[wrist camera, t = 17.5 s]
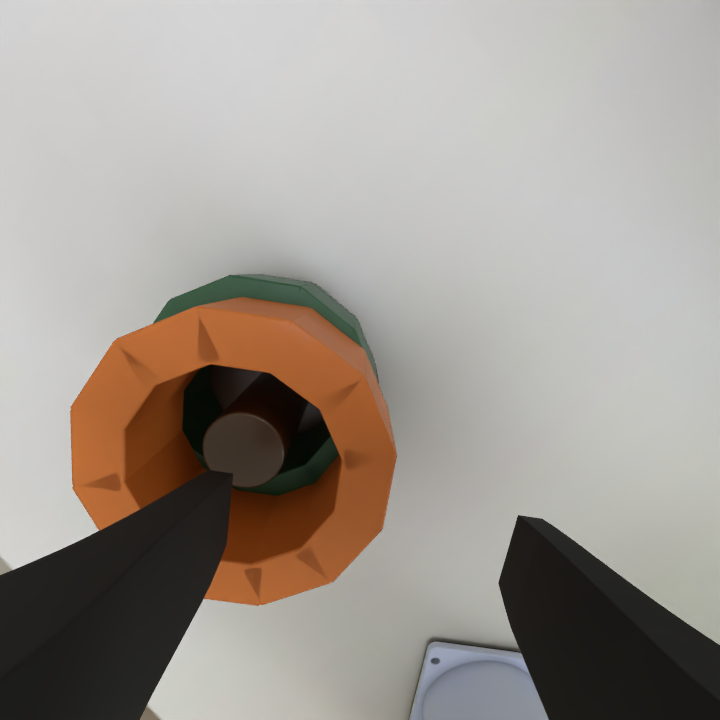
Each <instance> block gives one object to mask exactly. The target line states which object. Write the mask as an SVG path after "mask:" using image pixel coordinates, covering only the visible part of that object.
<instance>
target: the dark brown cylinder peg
mask: <svg viewBox="0 0 720 720" xmlns="http://www.w3.org/2000/svg"><path fill="white" fill-rule="evenodd" d="M367 345H368V344H367ZM368 348H369V346H368ZM369 350H370V348H369ZM370 353H371V356H372V358H373V355H372V352H371V350H370ZM373 361H374V358H373ZM374 363H375V361H374ZM375 366H376V364H375ZM376 374H377V369H376ZM377 381H378V375H377ZM209 384H210V386H211V388H212V390H213V392H214V394H215V396H216V398H217V400H218V402H219V404H220V406H221V408H222V410H223V412H222V413H221V414H220V415H219V416H218V418H217V419H216V420H215V421H214V422H213V423H212V424H211V425H210V426H209V427H208V429H207V431H206V433H205V435H204V438H203V456H204V459H205V462H206V464H207V466H208V467H209V469H210V470H213V471H220V472H227V473H233V482H232V486H236V487H242V488H251V487H256V486H260V485H262V484H265V483H267V482H268V481H270V480H271V479H273V478H274V477H275V476H276V475H277V474H278V472H279V471H280V469H281V468H282V466H283V463H284V461H285V458H286V456H287V453H288V451H289V449H290V446H291V444H292V441H293V439H294V436H295V435H297V434H300V433H303V432H306V431H309V430H312V429H314V428H316V427H317V426H318V425H319V424H320V423H321V421H322V420H323V416H322V414H321V412H320V410H319V409H318V408H317V407H315V406H314V405H313V404H311V403H310V402H309V401H307V400H306V399H305V398H303V397H302V396H301V395H299V394H298V393H297V392H295V391H294V390H293V389H291V388H290V387H288V386H287V385H286V384H284V383H283V382H282V381H280V380H279V379H278V378H276V377H275V376H274V375H272V374H271V373H267V372H260V371H253V370H246V369H239V368H233V367H226V366H219V365H212V364H211V366H210V380H209ZM378 384H379V383H378Z"/></svg>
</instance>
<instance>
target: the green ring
mask: <svg viewBox="0 0 720 720" xmlns="http://www.w3.org/2000/svg"><path fill="white" fill-rule="evenodd" d="M238 297H247V298H254V299H260V300H267V301H273V302H280V303H286V304H293V305H299V306H306V307H309V308H312V309H314V310H315V311H316V312H318V313H319V314H320V315H321V316H323V317H324V318H325V319H326V320H328V321H329V322H330V323H331V324H333V325H334V326H335V327H337V328H338V329H339V330H340V331H342V332H343V333H344V334H345V335H347V336H348V337H349V338H351V339H352V340H353V341H354V342H356V343H357V344H358V345H359V346H361V347H362V348H363V349H364V350H365V351H366V354H367V356H368V359H369V361H370V364H371V367H372V369H373V372H374V374H375V377H376V379H377V374H376V366H375V363H374V361H373V358H372V356H371V353H370V350H369V348H368V345H367V342H366V340H365V337H364V335H363V332H362V329H361V327H360V324H359V322H358V319H357V318H356V317H355V316H354V315H353V314H352V313H350V312H349V311H348V310H347V309H345V308H344V307H343V306H342V305H341V304H339V303H338V302H337V301H336V300H334V299H333V298H332V297H331V296H330V295H328V294H327V293H326V292H325V291H323V290H322V289H321V288H320V287H318V286H317V285H316V284H313V283H311V282H305V281H299V280H293V279H287V278H281V277H275V276H269V275H263V274H249V275H229V276H227V277H224V278H222V279H219V280H217V281H214V282H212V283H209V284H207V285H204V286H202V287H199V288H197V289H194V290H192V291H189V292H187V293H184V294H182V295H180V296H177V297H175V298H172V299H170V300H169V301H168V302H167V304H166V305H165V307H164V308H163V310H162V311H161V313H160V314H159V315H158V317H157V318H156V320H155V321H154V323H156V322H159V321H161V320H164V319H166V318H168V317H171V316H173V315H176V314H178V313H181V312H183V311H186V310H188V309H190V308H193V307H195V306H199V305H204V304H209V303H214V302H219V301H224V300H228V299H233V298H238ZM154 323H153V324H154ZM210 366H211V364H210V365H207V366H205V367H202V368H200V369H199V371H198V372H197V373H196V375H195V376H194V377H193V379H192V380H191V382H190V383H189V384H188V386H187V387H186V389H185V390H184V400H183V422H182V430H183V432H184V434H185V435H186V437H187V439H188V441H189V443H190V445H191V447H192V449H193V450H194V452H195V454H196V456H197V458H198V460H199V462H200V463H201V465H202V467H204V468H205V469H206V470H210V469H209V467H208V466H207V464H206V462H205V459H204V456H203V438H204V435H205V433H206V431H207V429H208V427H209V426H210V425H211V424H212V423H213V422H214V421H215V420H216V419H217V418H218V416H219V415H220V414H221V413H222V412H223V410H222V408H221V406H220V404H219V402H218V400H217V398H216V396H215V394H214V392H213V390H212V388H211V386H210V384H209V380H210ZM377 382H378V381H377ZM338 456H339V453H338V450H337V448H336V446H335V444H334V441H333V439H332V437H331V435H330V432H329V430H328V428H327V425H326V423H325V421H324V419H323V420H322V421H321V423H320V424H319V425H318V426H317V427H316V428H314V429H312V430H309V431H306V432H303V433H300V434H297V435H295V436H294V439H293V441H292V444H291V446H290V449H289V451H288V453H287V456H286V458H285V461H284V463H283V466H282V468H281V469H280V471H279V472H278V474H277V475H276V476H275V477H274V478H273V479H271V480H270V481H268V482H267V483H265V484H262V485H260V486H256V487H251V488H242V487H236V486H232V487H233V488H235V489H236V490H239V491H247V492H254V493H261V494H268V495H276V496H279V495H282V494H285V493H288V492H290V491H293V490H296V489H299V488H302V487H305V486H308V485H310V484H313V483H315V482H316V481H317V480H318V479H319V478H320V476H321V475H322V474H323V473H324V472H325V471H326V469H327V468H328V467H329V466H330V465H331V464H332V462H333V461H334V460H335V459H336V458H337V457H338Z"/></svg>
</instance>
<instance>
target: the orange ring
mask: <svg viewBox="0 0 720 720" xmlns="http://www.w3.org/2000/svg"><path fill="white" fill-rule="evenodd" d="M210 364H212V365H219V366H226V367H233V368H239V369H246V370H253V371H260V372H267V373H271V374H272V375H274V376H275V377H276V378H278V379H279V380H280V381H282V382H283V383H284V384H286V385H287V386H288V387H290V388H291V389H293V390H294V391H295V392H297V393H298V394H299V395H301V396H302V397H303V398H305V399H306V400H307V401H309V402H310V403H311V404H313V405H314V406H315V407H317V408H318V409H319V410H320V412H321V414H322V416H323V419H324V421H325V423H326V425H327V428H328V430H329V432H330V435H331V437H332V439H333V441H334V444H335V446H336V448H337V450H338V453H339V456H338V457H337V458H336V459H335V460H334V461H333V462H332V464H331V465H330V466H329V467H328V468H327V469H326V471H325V472H324V473H323V474H322V475H321V476H320V478H319V479H318V480H317V481H316V482H315V483H313V484H310V485H308V486H305V487H302V488H299V489H296V490H293V491H290V492H288V493H285V494H282V495H279V496H276V495H268V494H261V493H254V492H247V491H239V490H236V489H235V488H233V487H232V493H231V504H230V515H229V526H228V537H227V545H226V548H225V550H224V553H223V555H222V558H221V561H220V563H219V566H218V568H217V571H216V573H215V575H214V578H213V580H212V583H211V585H210V587H209V589H208V591H207V593H206V595H205V597H204V599H211V600H218V601H226V602H234V603H241V604H249V605H257V606H259V605H260V604H261V605H264V604H267V603H270V602H273V601H276V600H279V599H282V598H286V597H289V596H292V595H295V594H298V593H301V592H304V591H307V590H310V589H313V588H316V587H319V586H323V585H326V584H329V583H330V582H333V581H334V580H335V579H336V578H337V577H338V576H339V575H340V574H341V573H342V572H343V571H344V570H345V569H346V568H347V567H348V565H349V564H350V563H351V562H352V561H353V560H354V559H355V558H356V557H357V556H358V555H359V554H360V553H361V552H362V551H363V550H364V548H365V547H366V546H367V545H368V544H369V543H370V542H371V541H372V540H373V539H374V538H375V537H376V536H377V535H378V534H379V533H380V531H381V530H382V528H383V525H384V520H385V515H386V510H387V504H388V499H389V494H390V489H391V483H392V478H393V473H394V468H395V463H396V457H397V455H396V448H395V443H394V437H393V432H392V427H391V422H390V416H389V411H388V407H387V404H386V402H385V399H384V397H383V394H382V392H381V389H380V387H379V384H378V382H377V379H376V377H375V374H374V372H373V369H372V367H371V364H370V361H369V359H368V356H367V354H366V351H365V350H364V349H363V348H362V347H361V346H359V345H358V344H357V343H356V342H354V341H353V340H352V339H351V338H349V337H348V336H347V335H345V334H344V333H343V332H342V331H340V330H339V329H338V328H337V327H335V326H334V325H333V324H331V323H330V322H329V321H328V320H326V319H325V318H324V317H323V316H321V315H320V314H319V313H318V312H316V311H315V310H314V309H312V308H309V307H306V306H299V305H293V304H286V303H280V302H273V301H267V300H260V299H254V298H247V297H238V298H233V299H228V300H224V301H219V302H214V303H209V304H204V305H199V306H195V307H193V308H190V309H188V310H186V311H183V312H181V313H178V314H176V315H173V316H171V317H168V318H166V319H164V320H161V321H159V322H156V323H154V324H151V325H149V326H146V327H144V328H142V329H139V330H137V331H134V332H132V333H129V334H127V335H125V336H122V337H120V338H117V339H116V340H115V341H114V342H113V343H112V345H111V346H110V348H109V349H108V351H107V353H106V354H105V356H104V357H103V359H102V360H101V362H100V363H99V365H98V366H97V368H96V369H95V371H94V372H93V374H92V375H91V377H90V378H89V380H88V382H87V383H86V385H85V386H84V388H83V389H82V391H81V392H80V394H79V395H78V397H77V398H76V400H75V401H74V403H73V404H72V406H71V411H70V414H71V449H72V484H73V487H72V488H73V490H74V491H75V493H76V495H77V496H78V498H79V499H80V501H81V502H82V504H83V506H84V507H85V509H86V510H87V512H88V514H89V515H90V517H91V518H92V520H93V521H94V523H95V525H96V526H97V528H98V529H99V531H100V530H102V529H104V528H106V527H108V526H109V525H111V524H113V523H115V522H117V521H119V520H121V519H123V518H125V517H127V516H129V515H130V514H132V513H134V512H136V511H138V510H140V509H142V508H143V507H145V506H147V505H149V504H150V503H152V502H154V501H155V500H157V499H159V498H161V497H162V496H164V495H166V494H168V493H169V492H171V491H173V490H174V489H176V488H178V487H180V486H181V485H183V484H185V483H186V482H188V481H190V480H191V479H193V478H195V477H197V476H198V475H200V474H202V473H204V472H206V471H208V470H206V469H205V468H204V467H202V465H201V463H200V462H199V460H198V458H197V456H196V454H195V452H194V450H193V449H192V447H191V445H190V443H189V441H188V439H187V437H186V435H185V434H184V432H183V430H182V422H183V400H184V390H185V389H186V387H187V386H188V384H189V383H190V382H191V380H192V379H193V377H194V376H195V375H196V373H197V372H198V371H199V369H200V368H202V367H205V366H207V365H210Z"/></svg>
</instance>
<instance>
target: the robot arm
mask: <svg viewBox="0 0 720 720" xmlns="http://www.w3.org/2000/svg"><path fill="white" fill-rule="evenodd" d="M232 482H233V473H227V472H220V471H213V470H208V471H206V472H204V473H202V474H200V475H198V476H197V477H195V478H193V479H191V480H190V481H188V482H186V483H185V484H183V485H181V486H180V487H178V488H176V489H174V490H173V491H171V492H169V493H168V494H166V495H164V496H162V497H161V498H159V499H157V500H155V501H154V502H152V503H150V504H149V505H147V506H145V507H143V508H142V509H140V510H138V511H136V512H134V513H132V514H130V515H129V516H127V517H125V518H123V519H121V520H119V521H117V522H115V523H113V524H111V525H109V526H108V527H106V528H104V529H102V530H100V531H98V532H96V533H94V534H92V535H90V536H88V537H86V538H84V539H82V540H80V541H78V542H76V543H74V544H72V545H69V546H67V547H65V548H63V549H61V550H59V551H56V552H54V553H52V554H50V555H47V556H45V557H43V558H40V559H38V560H36V561H34V562H31V563H29V564H27V565H24V566H22V567H20V568H17V569H15V570H12V571H10V572H7V573H5V574H2V575H0V720H140V717H141V716H142V714H143V712H144V710H145V708H146V706H147V704H148V702H149V700H150V698H151V696H152V694H153V692H154V690H155V688H156V686H157V684H158V682H159V681H160V679H161V677H162V675H163V673H164V671H165V669H166V668H167V666H168V664H169V662H170V660H171V658H172V656H173V655H174V653H175V651H176V649H177V647H178V645H179V643H180V642H181V640H182V638H183V636H184V634H185V632H186V630H187V629H188V627H189V625H190V623H191V621H192V619H193V617H194V616H195V614H196V612H197V610H198V608H199V606H200V604H201V602H202V601H203V599H204V597H205V595H206V593H207V591H208V589H209V587H210V585H211V583H212V580H213V578H214V575H215V573H216V571H217V568H218V566H219V563H220V561H221V558H222V555H223V553H224V550H225V548H226V545H227V537H228V526H229V515H230V504H231V493H232ZM499 587H500V590H501V594H502V598H503V602H504V606H505V609H506V612H507V616H508V619H509V623H510V626H511V629H512V631H513V634H514V636H515V639H516V641H517V644H518V646H519V649H520V651H521V653H518V652H511V651H504V650H496V649H489V648H481V647H474V646H467V645H459V644H452V643H445V642H432V643H431V644H429V646H428V648H427V652H426V656H425V660H424V663H423V667H422V671H421V675H420V679H419V683H418V687H417V691H416V695H415V699H414V703H413V707H412V710H411V714H410V718H409V720H720V645H719V644H717V643H715V642H714V641H712V640H711V639H709V638H708V637H706V636H705V635H703V634H702V633H700V632H699V631H697V630H696V629H694V628H693V627H691V626H690V625H688V624H687V623H686V622H684V621H683V620H681V619H680V618H678V617H677V616H676V615H674V614H673V613H671V612H670V611H668V610H667V609H665V608H664V607H663V606H661V605H660V604H658V603H657V602H655V601H654V600H653V599H651V598H650V597H649V596H647V595H646V594H644V593H643V592H642V591H640V590H639V589H637V588H636V587H635V586H633V585H632V584H631V583H629V582H628V581H627V580H625V579H624V578H623V577H621V576H620V575H619V574H617V573H616V572H615V571H613V570H612V569H611V568H609V567H608V566H607V565H605V564H604V563H603V562H601V561H600V560H599V559H597V558H596V557H595V556H593V555H592V554H591V553H589V552H588V551H587V550H585V549H584V548H583V547H581V546H580V545H579V544H577V543H576V542H575V541H573V540H572V539H571V538H569V537H568V536H567V535H565V534H564V533H562V532H561V531H560V530H558V529H557V528H555V527H554V526H552V525H551V524H549V523H548V522H546V521H545V520H543V519H540V518H533V517H526V516H519V515H518V517H517V521H516V524H515V528H514V531H513V535H512V538H511V542H510V545H509V548H508V552H507V555H506V559H505V562H504V566H503V569H502V573H501V576H500V579H499Z"/></svg>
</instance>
